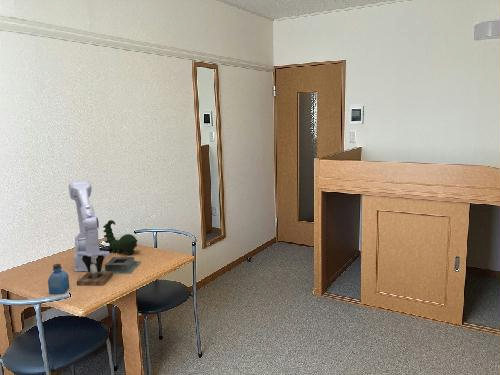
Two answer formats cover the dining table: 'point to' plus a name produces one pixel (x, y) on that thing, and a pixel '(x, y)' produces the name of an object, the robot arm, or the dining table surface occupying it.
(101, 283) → the walnut stand
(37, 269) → the dining table surface
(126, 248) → the toy figurine
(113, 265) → the metal hub block
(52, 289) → the perfume bottle
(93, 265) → the steel peg
